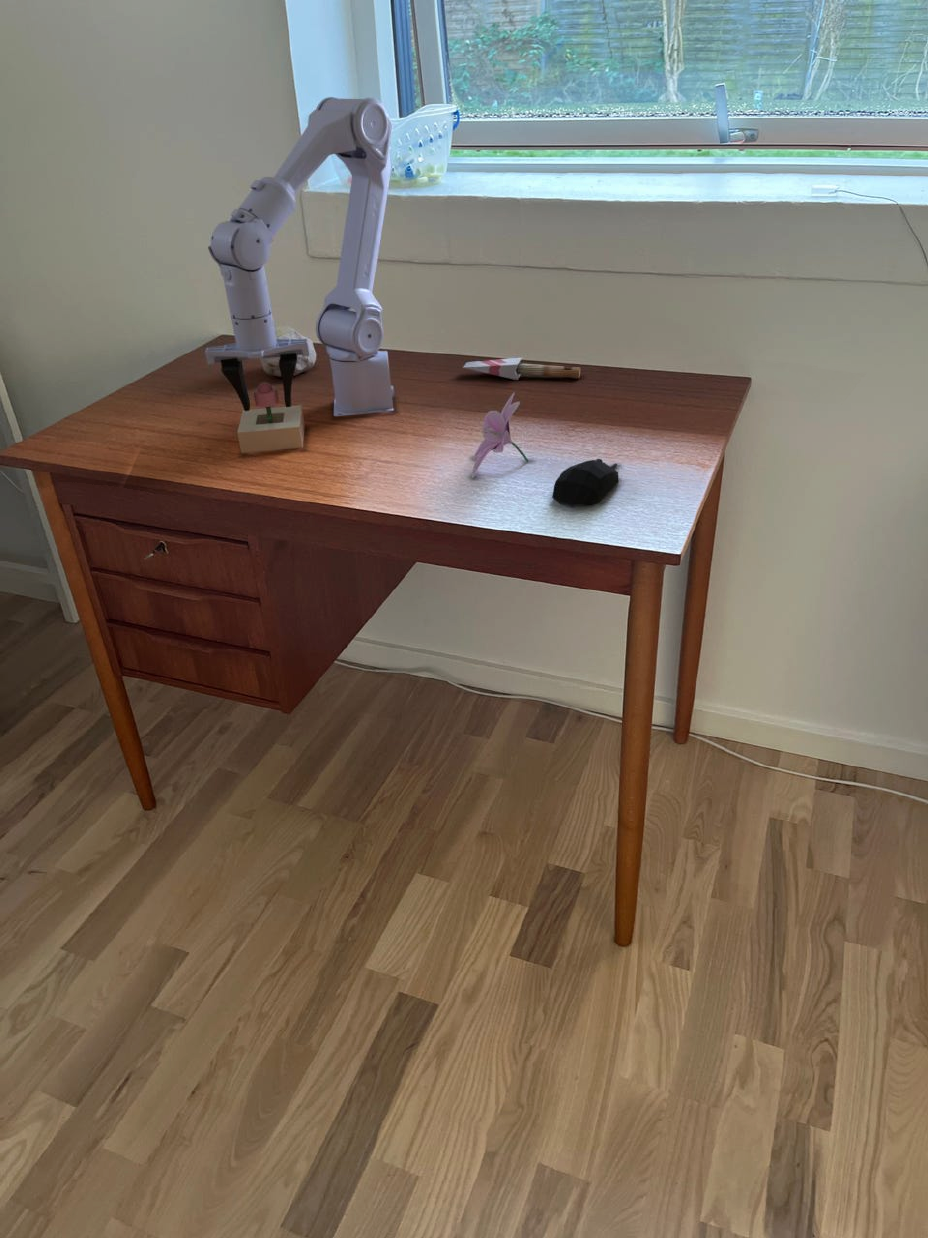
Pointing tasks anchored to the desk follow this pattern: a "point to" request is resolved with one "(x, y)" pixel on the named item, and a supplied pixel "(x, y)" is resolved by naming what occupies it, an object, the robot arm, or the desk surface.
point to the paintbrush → (521, 369)
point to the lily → (496, 433)
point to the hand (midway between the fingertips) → (268, 406)
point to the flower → (266, 398)
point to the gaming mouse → (585, 483)
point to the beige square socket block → (271, 429)
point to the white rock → (302, 361)
